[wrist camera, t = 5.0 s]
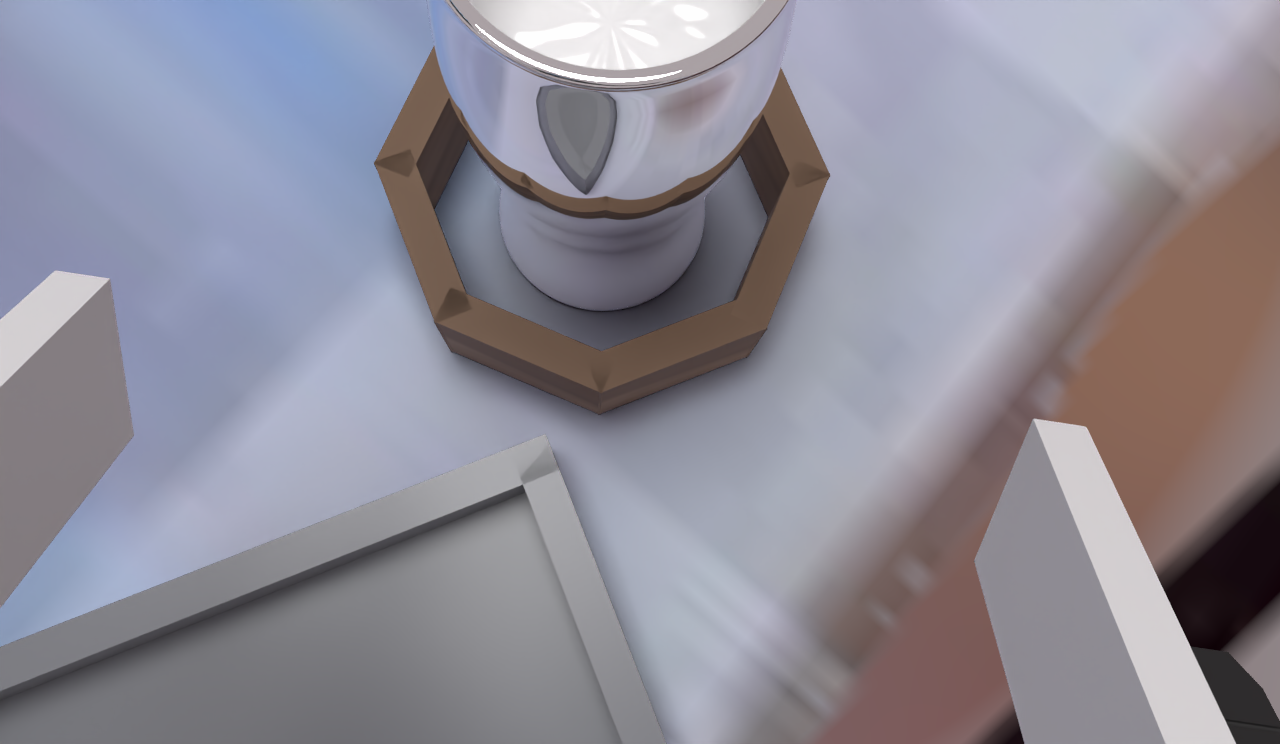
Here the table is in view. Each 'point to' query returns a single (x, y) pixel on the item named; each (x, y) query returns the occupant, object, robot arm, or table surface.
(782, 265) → the ring holder
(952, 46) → the table surface
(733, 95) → the beer glass
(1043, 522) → the robot arm
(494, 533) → the tray
